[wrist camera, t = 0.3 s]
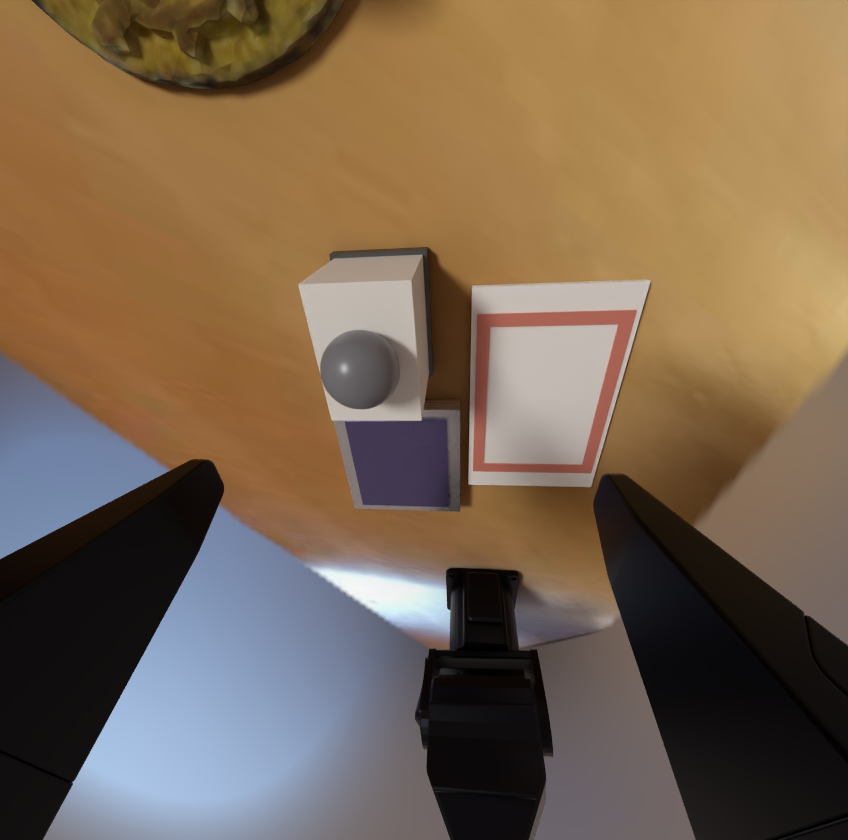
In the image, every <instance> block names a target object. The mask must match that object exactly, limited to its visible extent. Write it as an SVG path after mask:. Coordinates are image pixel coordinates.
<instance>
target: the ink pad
mask: <svg viewBox="0 0 848 840" xmlns="http://www.w3.org/2000/svg"><path fill="white" fill-rule="evenodd" d="M334 424H335V429H336V433H337V437H338V441H339V445H340V449H341V453H342V457H343V462H344V466H345V470H346V474H347V478H348V482H349V486H350V490H351V495H352V499H353V503H354V507H355V508H358V509H392V510H427V511H460V399H437V400H425V403H424V409H423V415H422V421H346V420H334Z"/></svg>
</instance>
